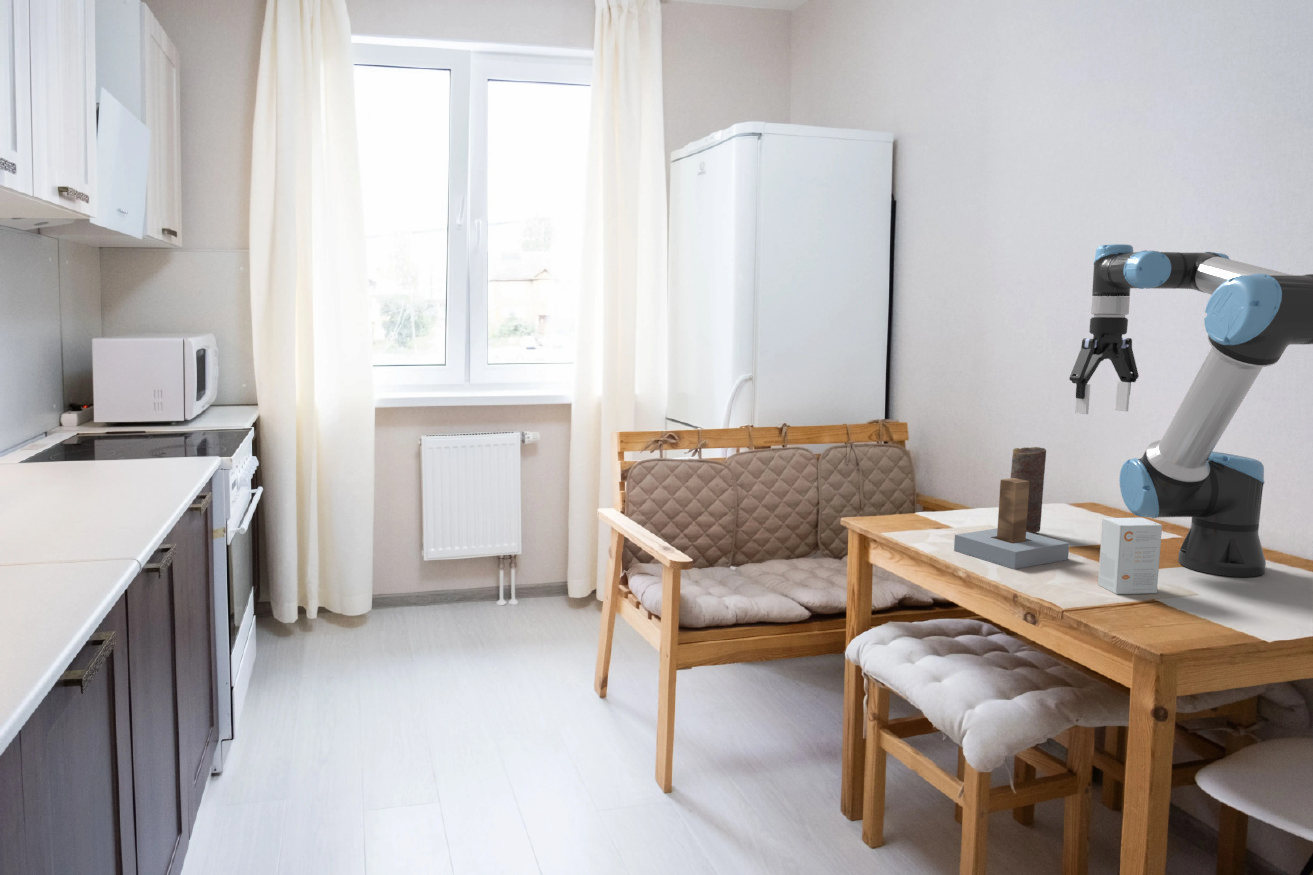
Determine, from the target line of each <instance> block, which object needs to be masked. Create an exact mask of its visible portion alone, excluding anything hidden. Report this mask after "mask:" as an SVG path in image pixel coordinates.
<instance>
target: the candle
mask: <svg viewBox="0 0 1313 875" xmlns="http://www.w3.org/2000/svg"><path fill="white" fill-rule="evenodd" d="M1046 457H1047V449H1046V448H1044V447H1039V446H1033V447H1021V448H1019V447H1017V448H1016V447H1014V448H1013V449H1012V457H1011V470H1010V478H1016V479H1021V480H1026V481H1029V496H1028V511H1027V526H1026V532H1029V533H1033V534H1036V533H1038V532H1040V531H1041V524H1042V511H1043V510H1042V508H1043V497H1044V496H1043V495H1044V485H1045V484H1044V483H1045V472H1046V471H1045V469H1046V462H1047V461H1046V460H1047V458H1046Z"/></svg>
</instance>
